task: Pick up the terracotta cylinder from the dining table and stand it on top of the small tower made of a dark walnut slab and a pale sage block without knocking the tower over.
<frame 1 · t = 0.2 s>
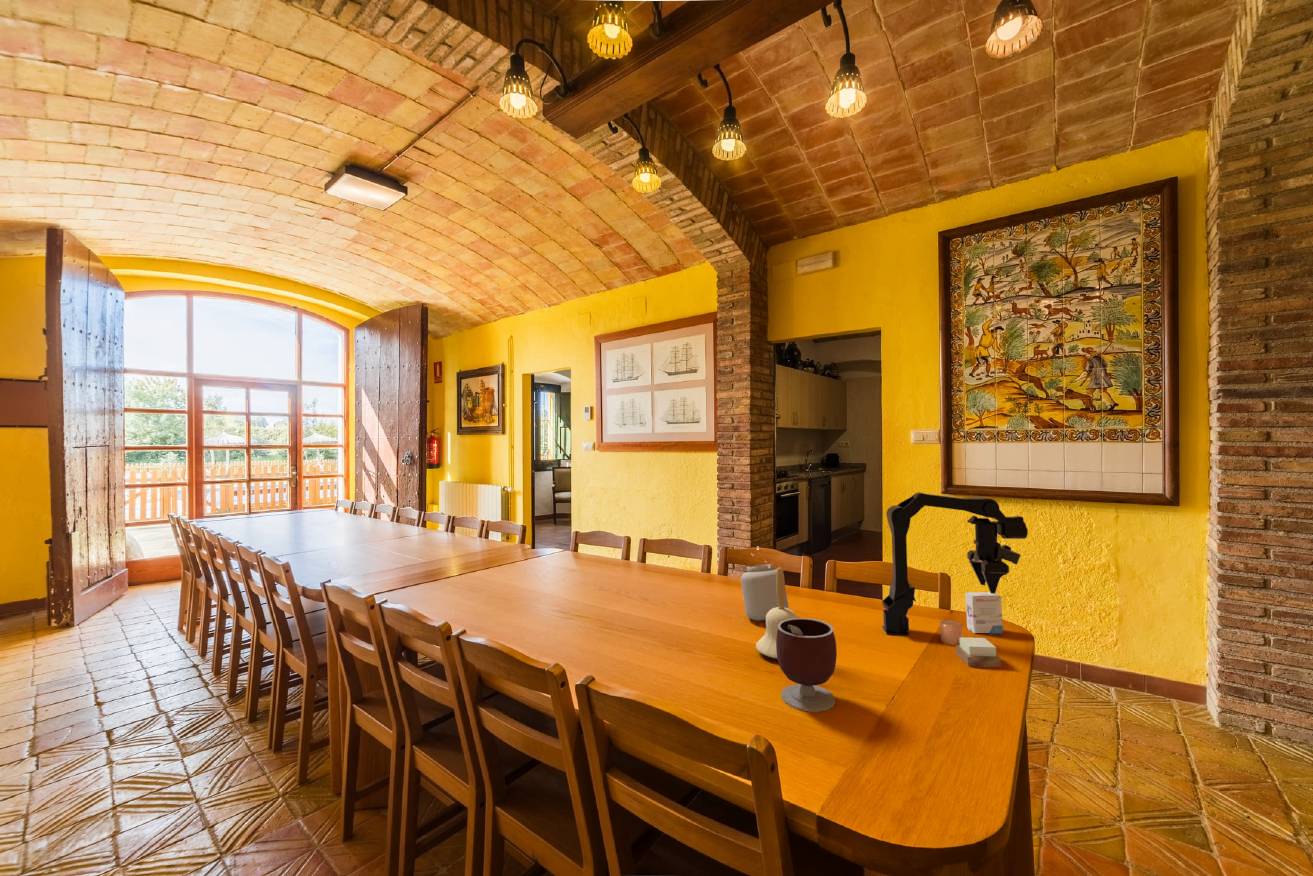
hand: (987, 589, 159), 14 cm above the table, tool pointing down, fingers open, 9 cm apart
walnut slab: (978, 662, 141), on the table, touching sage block
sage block: (977, 651, 141), point 2 cm above the table, touching walnut slab
ink box: (984, 631, 162), on the table
handbell: (782, 654, 150), on the table
jar: (763, 618, 181), on the table
terracotta cylinder: (951, 641, 155), on the table
mate gourd: (806, 701, 123), on the table
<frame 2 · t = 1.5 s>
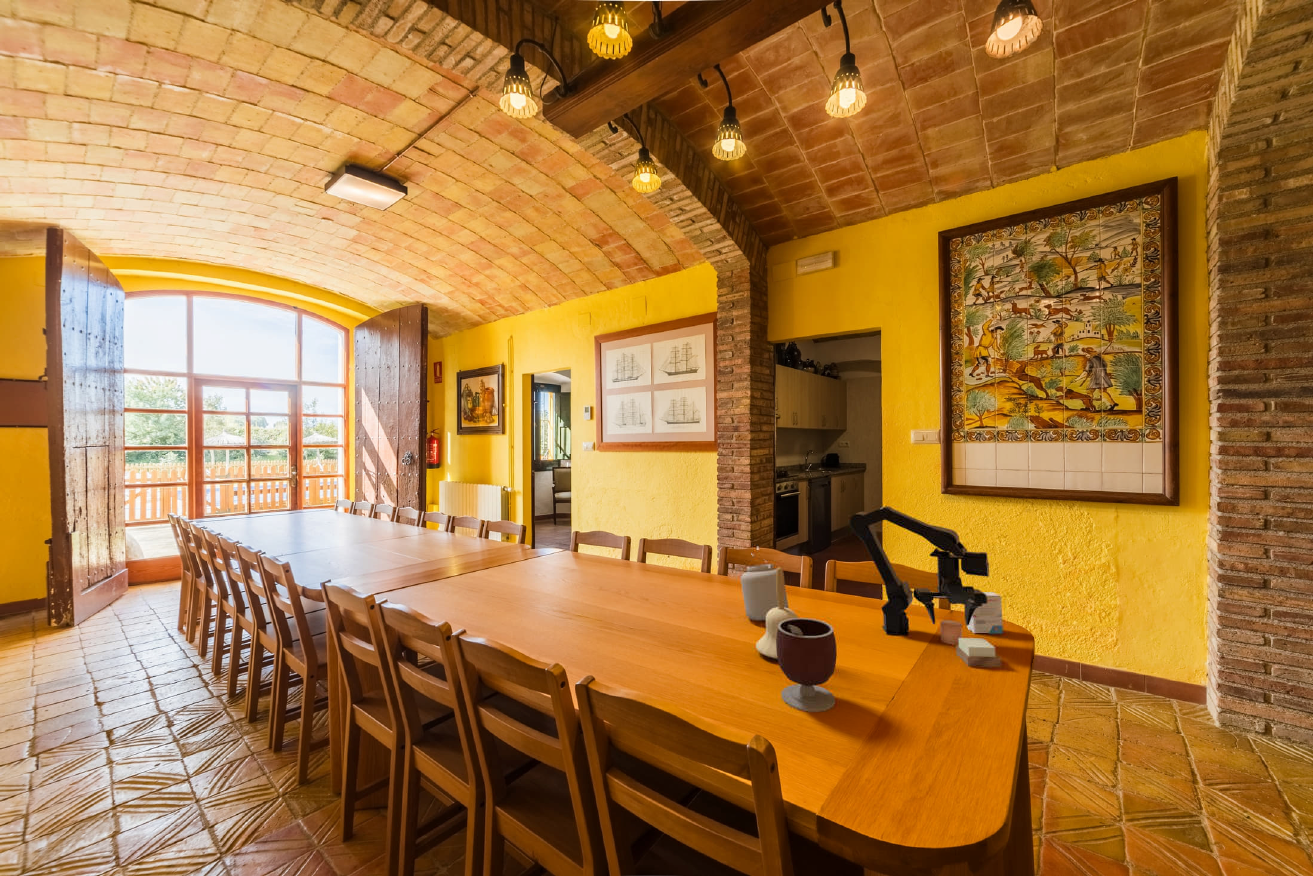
hand: (950, 624, 155), 5 cm above the table, tool pointing down, fingers open, 9 cm apart
nothing on the table moved.
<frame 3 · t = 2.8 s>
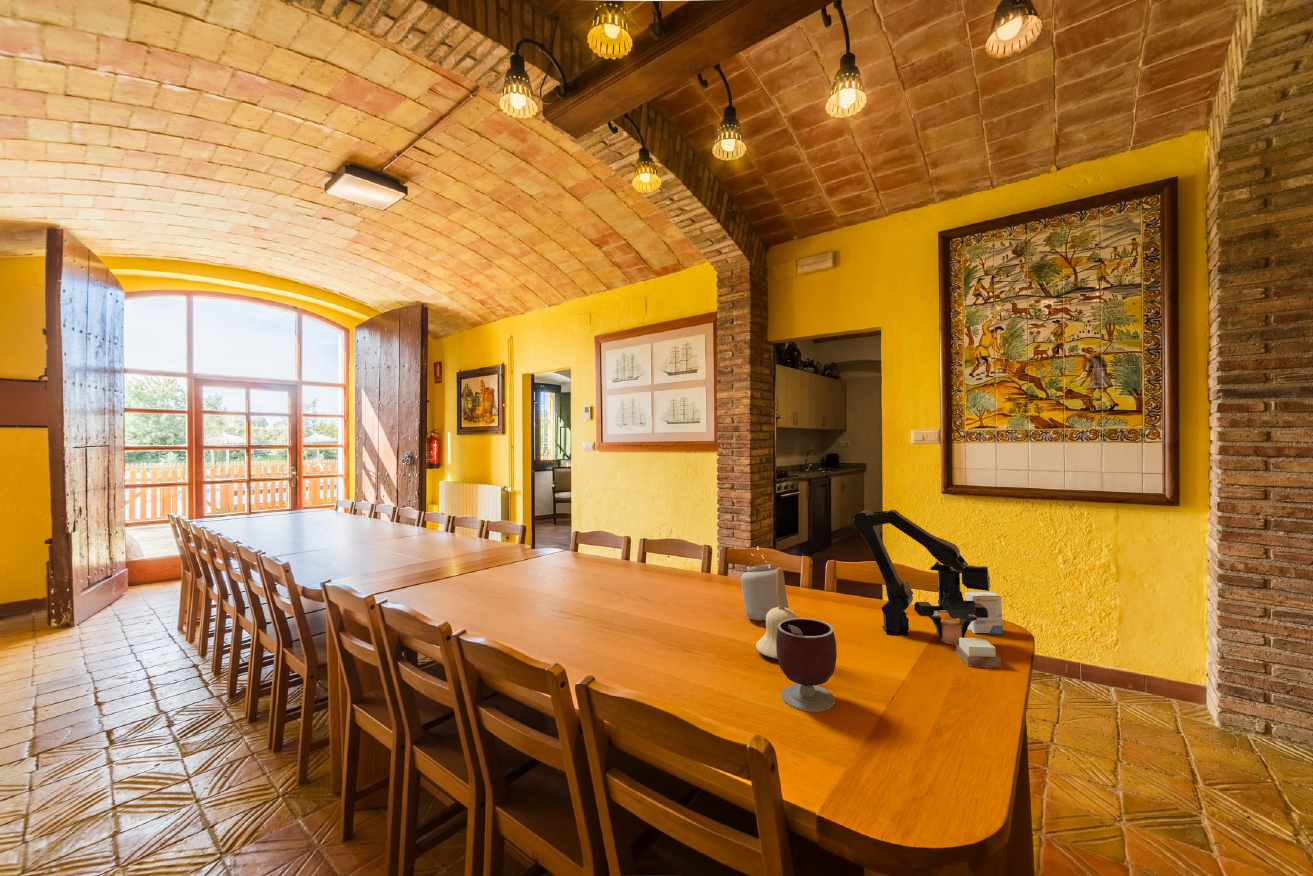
hand: (951, 638, 155), 1 cm above the table, tool pointing down, fingers closed on terracotta cylinder, 5 cm apart
terracotta cylinder: (951, 641, 155), on the table, touching gripper
everything else where it was.
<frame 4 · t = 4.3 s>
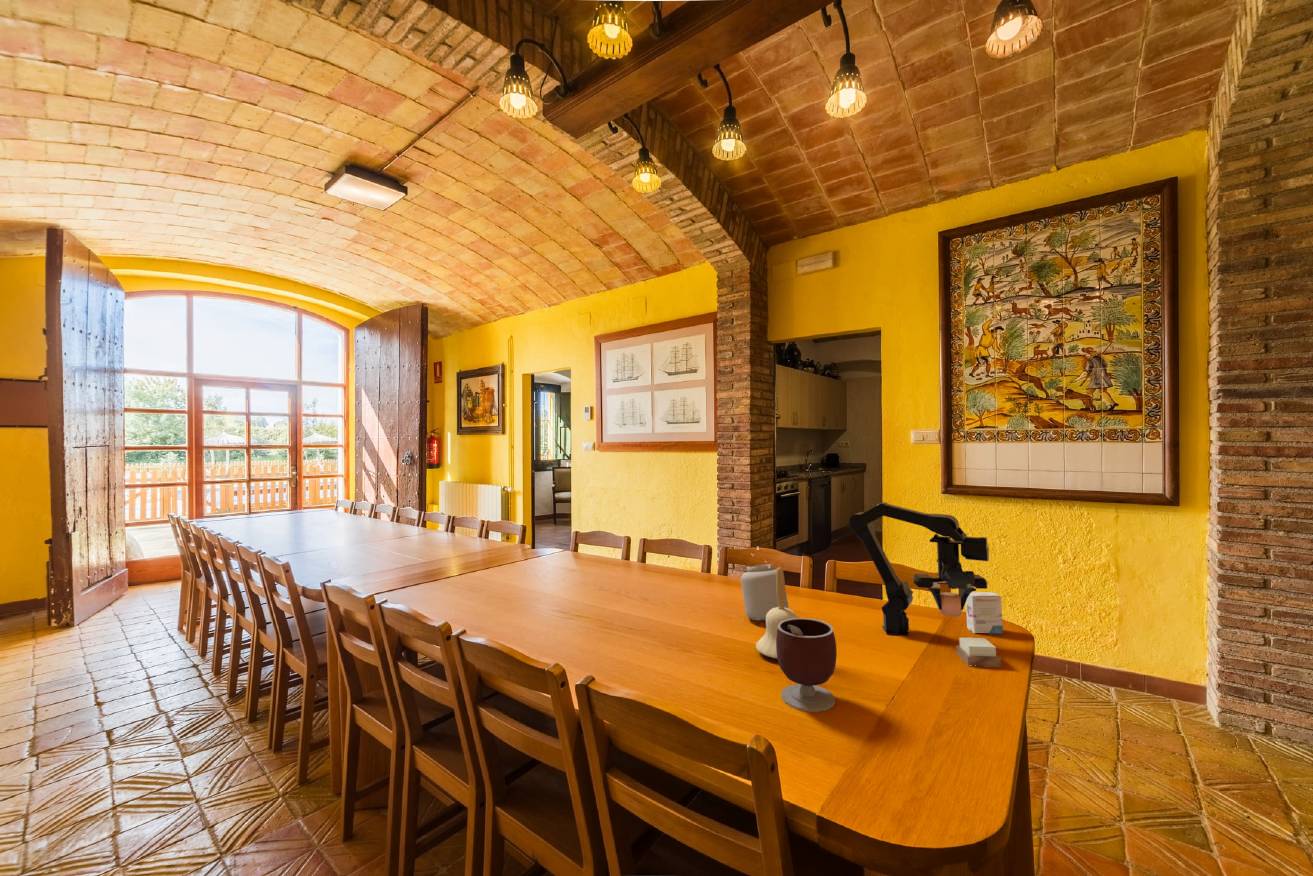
hand: (950, 609, 155), 10 cm above the table, tool pointing down, fingers closed on terracotta cylinder, 5 cm apart
walnut slab: (978, 662, 141), on the table
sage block: (977, 651, 141), point 2 cm above the table
terracotta cylinder: (950, 613, 155), point 8 cm above the table, touching gripper
everything else where it was.
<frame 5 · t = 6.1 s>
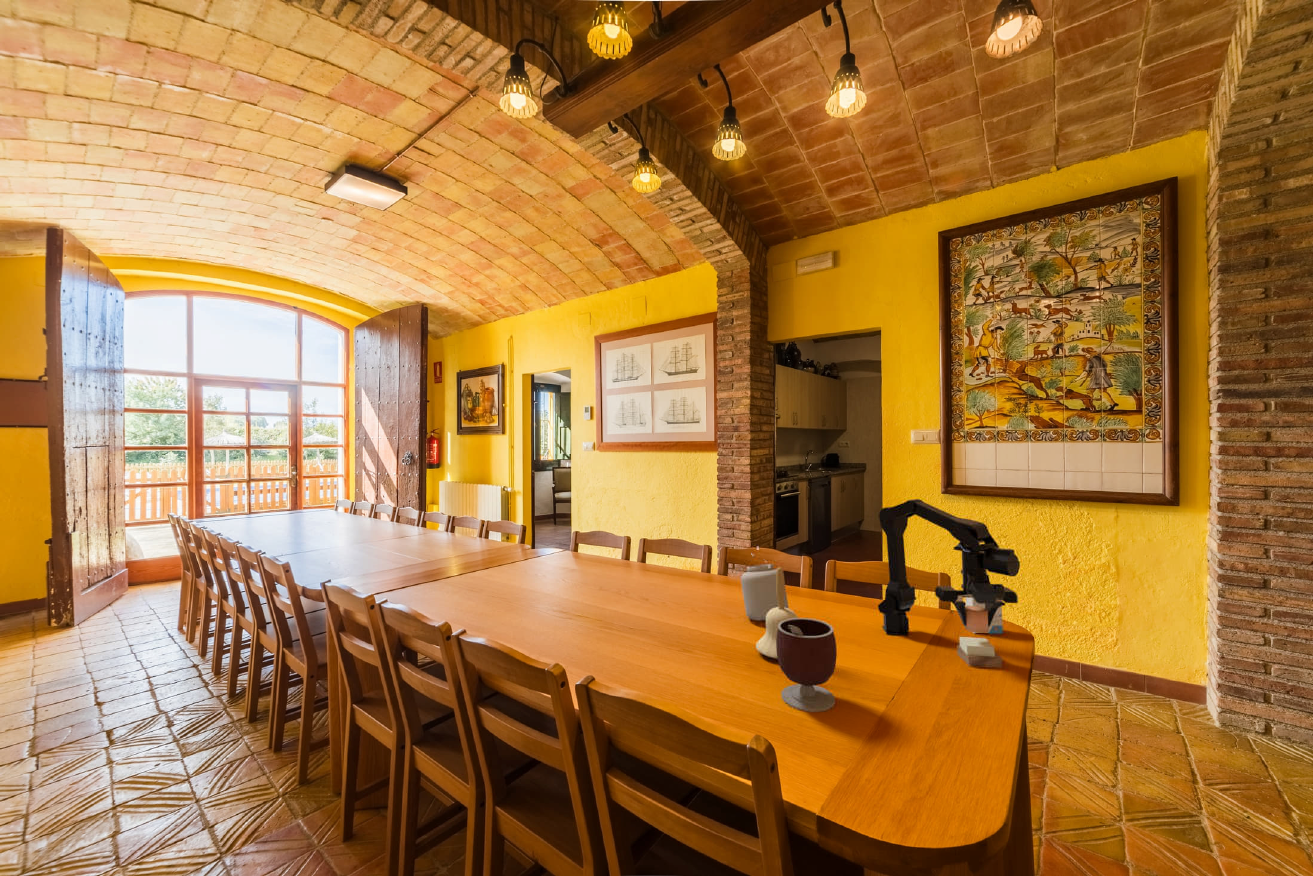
hand: (976, 625, 141), 10 cm above the table, tool pointing down, fingers closed on terracotta cylinder, 5 cm apart
walnut slab: (979, 662, 141), on the table, touching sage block
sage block: (976, 651, 141), point 3 cm above the table, touching walnut slab
terracotta cylinder: (976, 629, 141), point 9 cm above the table, touching gripper
everything else where it was.
when the fingers open (8 cm above the table, at t = 7.2 s): terracotta cylinder drops 2 cm, resting on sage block.
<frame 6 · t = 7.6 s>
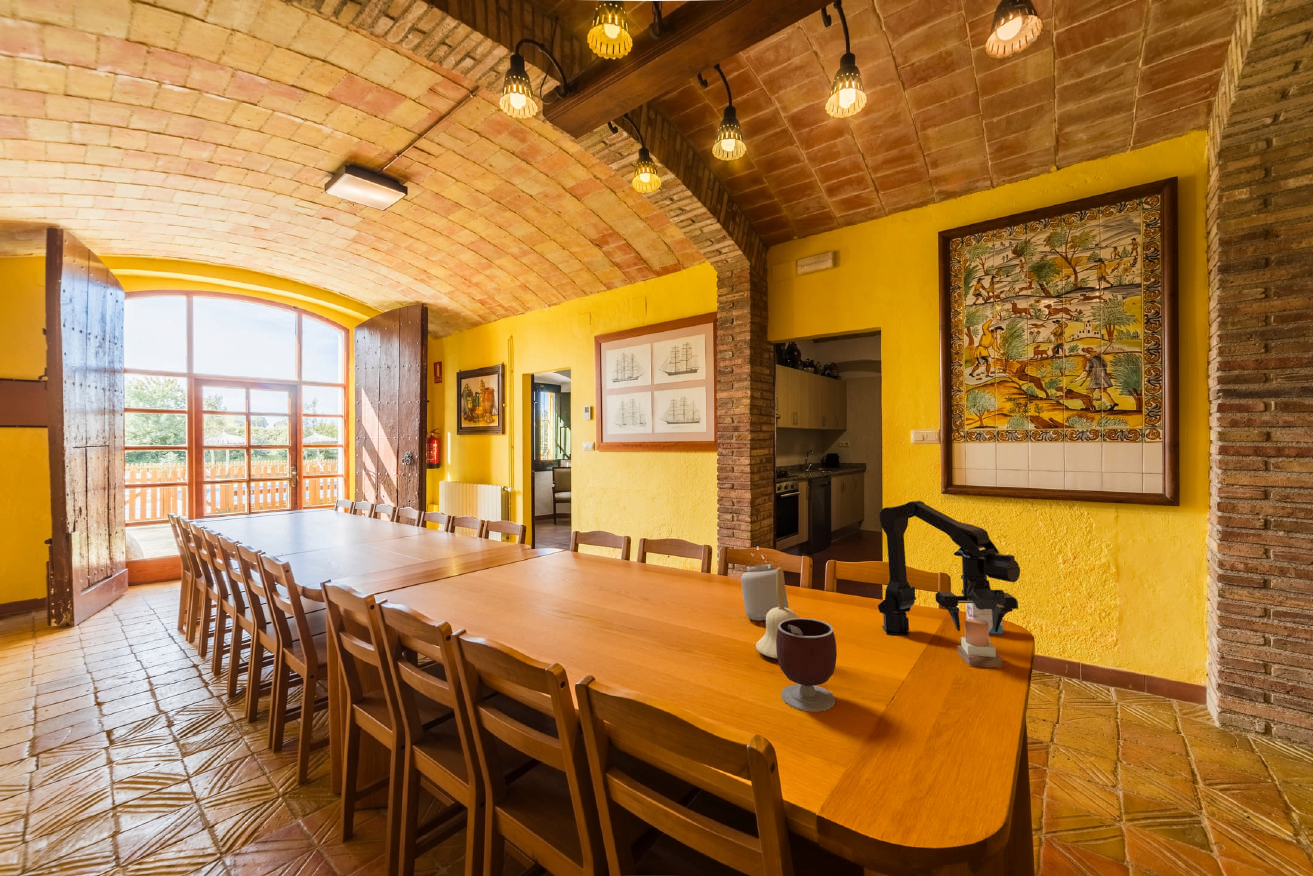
hand: (976, 631, 141), 8 cm above the table, tool pointing down, fingers open, 9 cm apart
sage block: (978, 651, 141), point 2 cm above the table, touching terracotta cylinder, walnut slab
terracotta cylinder: (977, 642, 141), point 5 cm above the table, touching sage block
everything else where it was.
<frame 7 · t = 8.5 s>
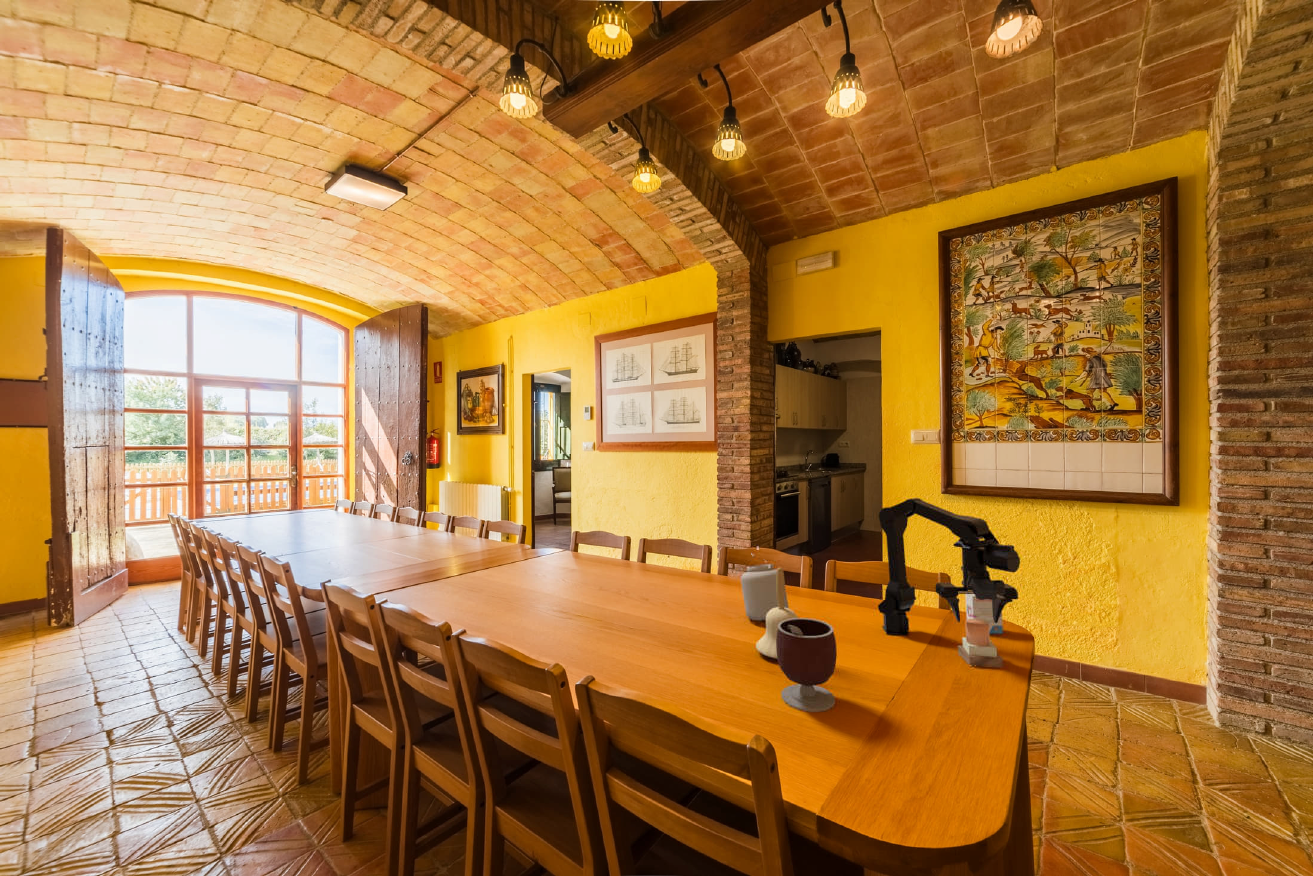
hand: (976, 622, 141), 11 cm above the table, tool pointing down, fingers open, 9 cm apart
nothing on the table moved.
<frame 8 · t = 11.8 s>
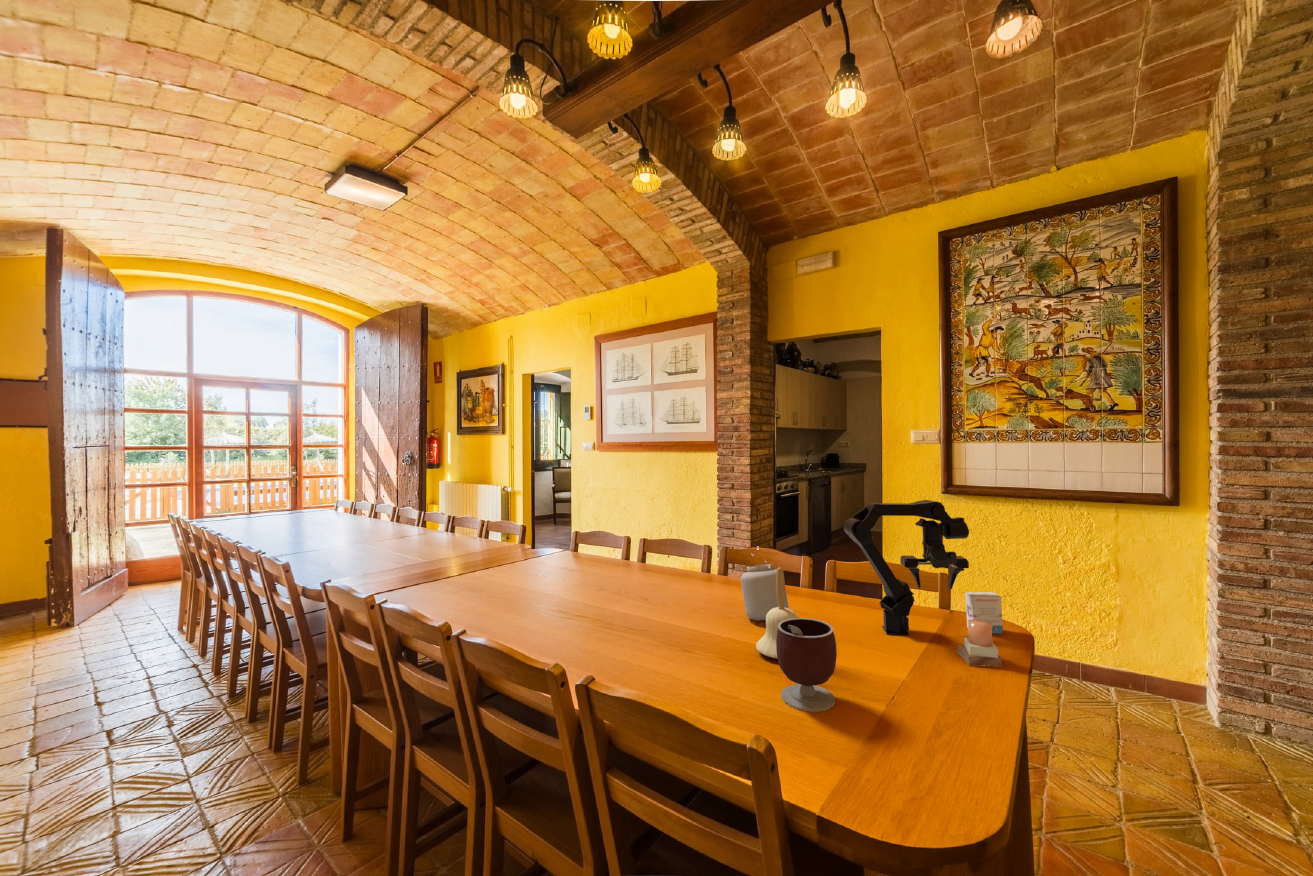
hand: (934, 588, 165), 13 cm above the table, tool pointing down, fingers open, 9 cm apart
nothing on the table moved.
at the end: terracotta cylinder 0.1 cm off-centre on the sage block, point 2.5 cm above the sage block's base; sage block tilted 0°; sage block 0.5 cm from the walnut slab (horizontally) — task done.
